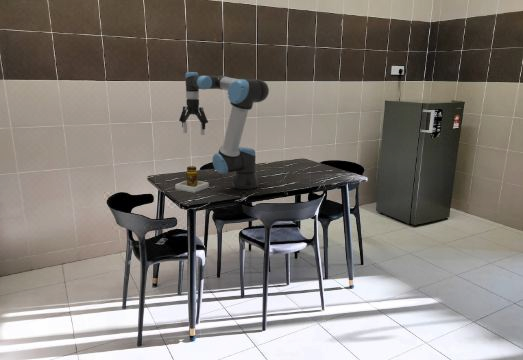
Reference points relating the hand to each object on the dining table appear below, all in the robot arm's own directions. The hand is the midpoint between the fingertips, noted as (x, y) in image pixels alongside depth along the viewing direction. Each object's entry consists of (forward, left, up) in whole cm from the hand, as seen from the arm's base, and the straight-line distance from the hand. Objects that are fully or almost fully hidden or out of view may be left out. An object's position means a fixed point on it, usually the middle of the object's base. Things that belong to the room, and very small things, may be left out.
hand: (193, 134), depth 243 cm
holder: (-12, +18, -29) cm, 36 cm away
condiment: (-11, +18, -28) cm, 35 cm away
